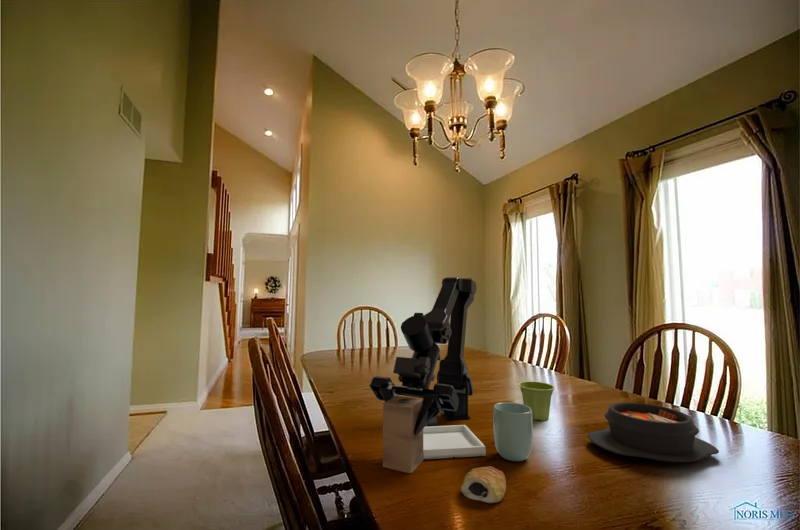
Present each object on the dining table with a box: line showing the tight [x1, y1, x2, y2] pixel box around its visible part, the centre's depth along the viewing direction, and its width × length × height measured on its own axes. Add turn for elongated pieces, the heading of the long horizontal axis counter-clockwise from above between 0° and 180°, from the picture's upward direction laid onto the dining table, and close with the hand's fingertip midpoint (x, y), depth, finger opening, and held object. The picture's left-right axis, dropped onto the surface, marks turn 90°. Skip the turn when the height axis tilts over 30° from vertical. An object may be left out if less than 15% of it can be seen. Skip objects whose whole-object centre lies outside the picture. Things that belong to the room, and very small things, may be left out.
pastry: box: [460, 465, 507, 504], centre depth 63 cm, size 9×7×4 cm
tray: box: [423, 424, 487, 460], centre depth 82 cm, size 13×13×2 cm
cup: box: [492, 401, 534, 462], centre depth 76 cm, size 8×8×10 cm
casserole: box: [587, 402, 720, 463], centre depth 80 cm, size 25×19×8 cm
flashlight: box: [425, 415, 438, 427], centre depth 92 cm, size 11×3×3 cm, turn 118°
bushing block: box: [382, 395, 424, 474], centre depth 73 cm, size 6×6×12 cm
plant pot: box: [518, 380, 555, 422], centre depth 101 cm, size 9×9×9 cm
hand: (400, 431), depth 72 cm, fingers closed on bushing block, 6 cm apart
